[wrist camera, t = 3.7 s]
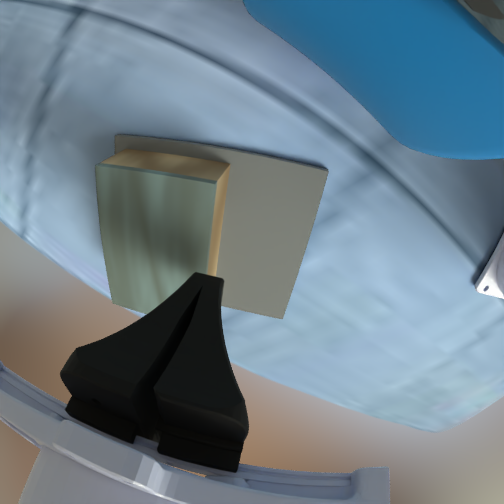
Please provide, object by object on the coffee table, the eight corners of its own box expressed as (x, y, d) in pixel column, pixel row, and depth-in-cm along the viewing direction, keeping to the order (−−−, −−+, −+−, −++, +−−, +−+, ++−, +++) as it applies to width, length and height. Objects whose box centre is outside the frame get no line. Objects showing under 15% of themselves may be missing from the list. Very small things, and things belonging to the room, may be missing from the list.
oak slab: (214, 184, 12) (95, 165, 12) (201, 329, 17) (112, 303, 17) (230, 163, 14) (126, 148, 14) (213, 296, 19) (132, 275, 20)
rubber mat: (327, 169, 14) (328, 171, 14) (282, 315, 20) (282, 319, 20) (118, 134, 14) (114, 135, 14) (126, 276, 20) (123, 280, 20)
